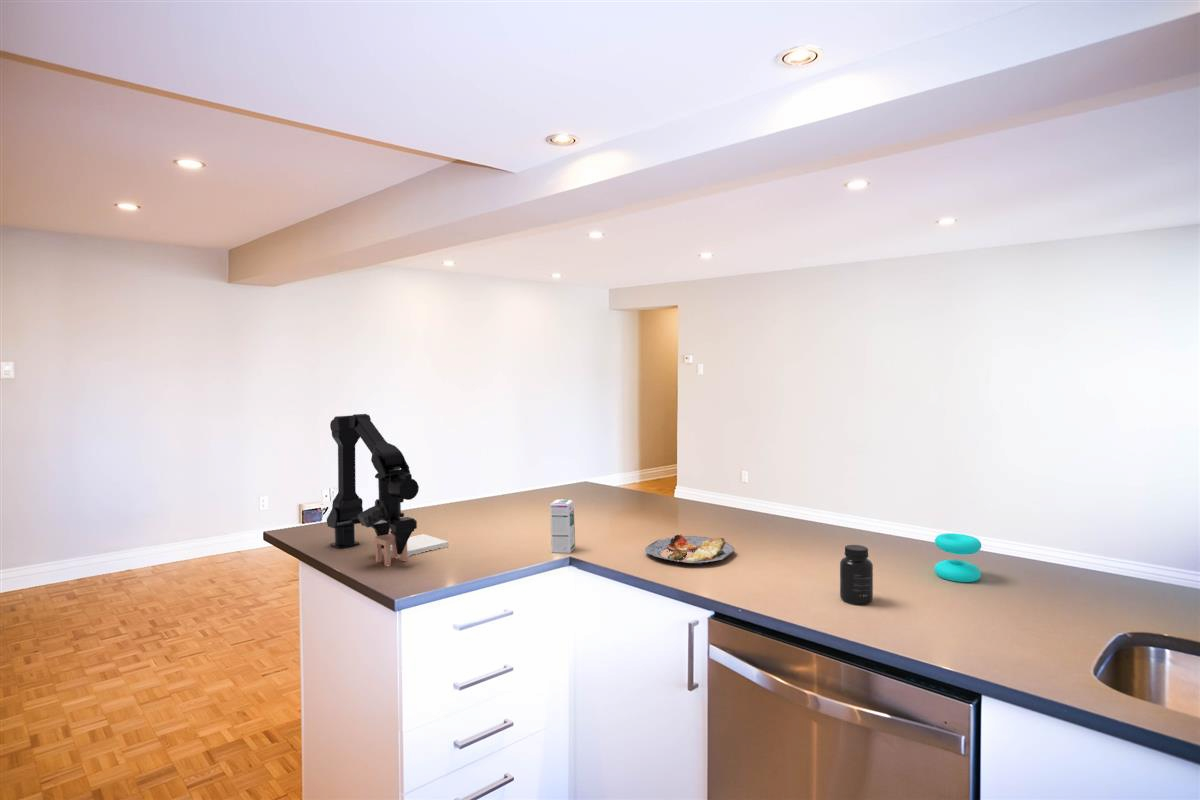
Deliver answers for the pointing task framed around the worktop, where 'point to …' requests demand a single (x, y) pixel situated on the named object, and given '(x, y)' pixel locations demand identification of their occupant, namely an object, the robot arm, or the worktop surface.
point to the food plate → (691, 549)
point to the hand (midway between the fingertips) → (391, 551)
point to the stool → (388, 549)
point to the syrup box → (562, 526)
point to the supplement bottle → (856, 576)
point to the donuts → (957, 568)
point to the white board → (423, 544)
